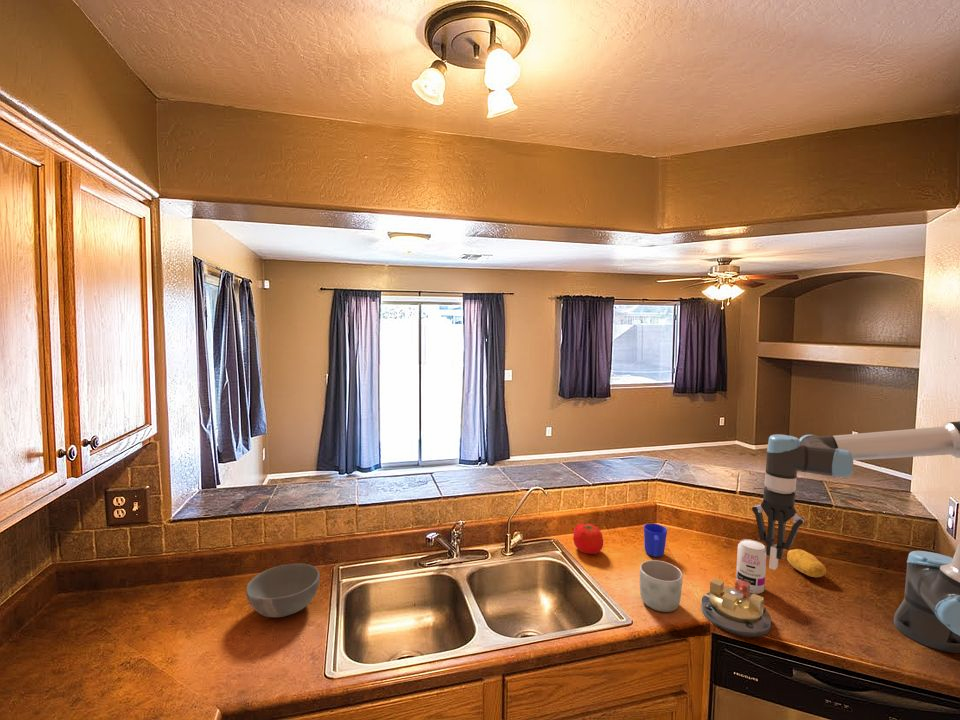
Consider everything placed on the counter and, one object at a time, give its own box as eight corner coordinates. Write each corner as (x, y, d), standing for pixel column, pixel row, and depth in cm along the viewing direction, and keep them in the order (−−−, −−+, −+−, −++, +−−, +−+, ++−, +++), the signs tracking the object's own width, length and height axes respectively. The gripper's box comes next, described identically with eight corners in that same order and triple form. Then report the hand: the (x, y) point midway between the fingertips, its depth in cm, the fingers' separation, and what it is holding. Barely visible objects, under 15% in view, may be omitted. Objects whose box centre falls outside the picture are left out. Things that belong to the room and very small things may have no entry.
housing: (778, 617, 135) (780, 593, 135) (759, 646, 123) (760, 620, 123) (714, 591, 149) (715, 569, 148) (691, 614, 136) (692, 590, 136)
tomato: (584, 540, 182) (585, 516, 182) (610, 554, 172) (611, 528, 171) (564, 548, 176) (565, 522, 175) (589, 562, 166) (590, 535, 165)
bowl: (333, 596, 143) (333, 566, 143) (289, 639, 124) (288, 604, 123) (280, 585, 149) (279, 556, 148) (230, 624, 130) (229, 591, 129)
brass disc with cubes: (769, 608, 135) (770, 590, 135) (753, 630, 126) (755, 610, 125) (719, 588, 146) (720, 571, 145) (701, 606, 136) (702, 588, 136)
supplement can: (756, 581, 155) (759, 539, 153) (769, 596, 146) (772, 551, 145) (731, 579, 155) (733, 537, 154) (742, 594, 147) (745, 549, 146)
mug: (643, 562, 166) (645, 535, 166) (642, 546, 178) (643, 522, 177) (668, 565, 164) (669, 539, 163) (664, 550, 176) (665, 525, 175)
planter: (687, 604, 141) (689, 571, 141) (670, 622, 133) (671, 586, 132) (650, 587, 150) (651, 555, 150) (631, 602, 142) (632, 569, 141)
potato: (801, 562, 167) (802, 544, 167) (831, 584, 154) (832, 564, 153) (780, 562, 167) (782, 544, 167) (808, 584, 154) (810, 564, 153)
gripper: (810, 492, 128) (803, 572, 130) (758, 479, 138) (752, 554, 140) (803, 499, 123) (796, 582, 125) (750, 485, 133) (744, 562, 135)
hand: (773, 567), depth 133 cm, fingers closed
